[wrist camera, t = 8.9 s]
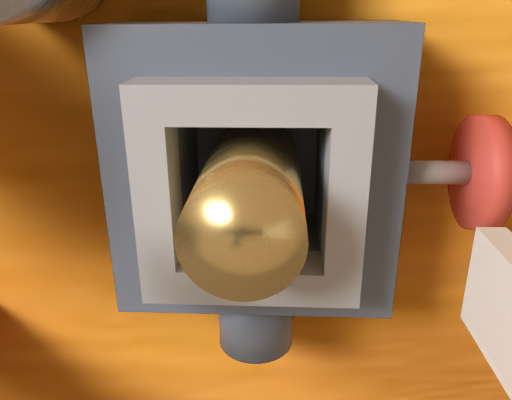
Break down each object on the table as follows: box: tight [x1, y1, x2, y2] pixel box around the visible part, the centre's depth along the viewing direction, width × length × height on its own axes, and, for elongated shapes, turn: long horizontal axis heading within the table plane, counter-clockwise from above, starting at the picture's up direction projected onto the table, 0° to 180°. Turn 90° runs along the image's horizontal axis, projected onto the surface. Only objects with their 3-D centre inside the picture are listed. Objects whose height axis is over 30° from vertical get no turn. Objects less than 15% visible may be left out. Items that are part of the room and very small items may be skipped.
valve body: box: [81, 0, 512, 364], centre depth 20 cm, size 16×18×7 cm
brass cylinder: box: [174, 127, 308, 302], centre depth 19 cm, size 4×4×9 cm
